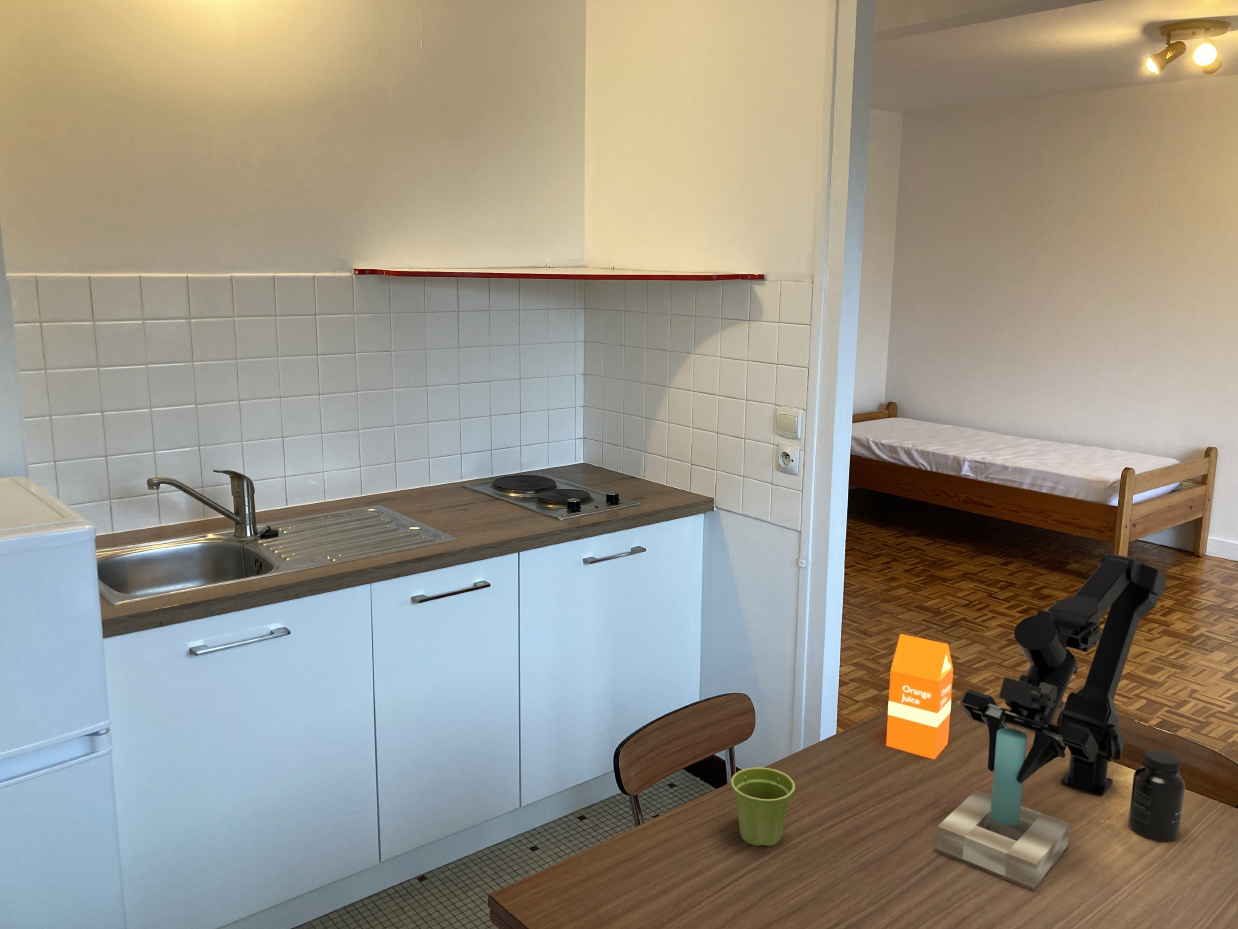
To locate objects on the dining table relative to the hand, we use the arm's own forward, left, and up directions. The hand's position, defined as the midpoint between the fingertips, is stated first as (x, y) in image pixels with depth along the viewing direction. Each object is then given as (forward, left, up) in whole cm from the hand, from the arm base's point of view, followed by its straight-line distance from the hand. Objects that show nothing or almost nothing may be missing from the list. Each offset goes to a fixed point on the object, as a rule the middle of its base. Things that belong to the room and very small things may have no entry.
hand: (1004, 776), depth 139 cm
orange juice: (-24, -24, -12) cm, 36 cm away
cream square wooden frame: (-1, 0, -12) cm, 12 cm away
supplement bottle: (-22, +15, -12) cm, 30 cm away
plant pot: (+20, -28, -12) cm, 36 cm away
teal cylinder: (-1, 0, -7) cm, 7 cm away
